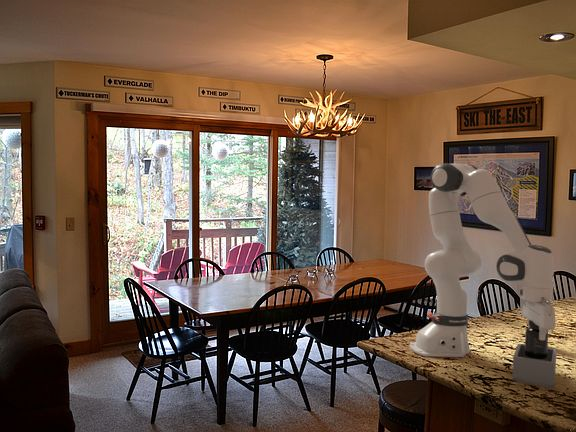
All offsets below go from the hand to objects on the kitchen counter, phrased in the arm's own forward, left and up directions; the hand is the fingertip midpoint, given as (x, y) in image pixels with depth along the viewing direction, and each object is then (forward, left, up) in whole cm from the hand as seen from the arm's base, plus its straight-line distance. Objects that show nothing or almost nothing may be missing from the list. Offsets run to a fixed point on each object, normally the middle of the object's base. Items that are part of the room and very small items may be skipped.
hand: (536, 336), depth 170 cm
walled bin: (0, 0, -14) cm, 14 cm away
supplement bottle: (0, 0, -7) cm, 7 cm away
